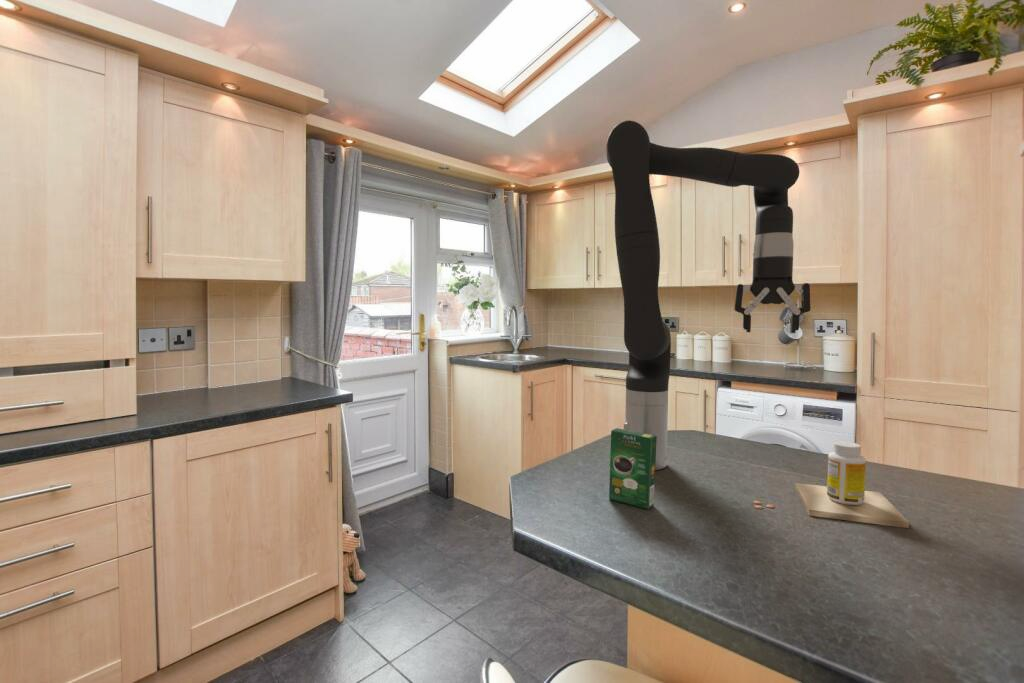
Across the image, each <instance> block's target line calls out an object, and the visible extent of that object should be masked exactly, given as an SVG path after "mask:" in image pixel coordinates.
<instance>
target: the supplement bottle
mask: <svg viewBox="0 0 1024 683" xmlns="http://www.w3.org/2000/svg"><path fill="white" fill-rule="evenodd" d="M861 448H862V446H861V445H860V444H858V443H856V442H851V441H845V440H844V441H841V440H839V441H835V442H834V443H833V451H831V452H829V453H828V456H827V481H826V484H827V485H826V486H827V496H828V497H829V498H830V499H831V500H833V501H835V502H838V503H841V504H846V505H860V504H862V503H863V502H864V495H865V491H866V490H865V488H866V470H867V469H866V466H867V465H866V464H867V463H866V462H867V461H866V458H865V457H864V456H863V455H861V453H862V449H861Z"/></svg>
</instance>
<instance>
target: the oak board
mask: <svg viewBox="0 0 1024 683" xmlns="http://www.w3.org/2000/svg"><path fill="white" fill-rule="evenodd" d="M794 490H795V491H796V494H797V496H798V497H799V499H800V501H801V503H802V504H803V507H804V509H805V511H806V513H807V514H808V516H810V517H818V518H827V519H835V520H844V521H849V522H855V523H856V522H857V523H865V524H873V525H874V524H875V525H881V526H889V527H897V528H904V529H905V528H906V529H909V528H910V521H909V520H908V519H907V518H906V517H905V516H904V515H903V514H902V513H901V512H900V511H899V510H898V509H897V508H896V507H895V506H894V505H893V504H892V503H891V502H890V501H889V500H888V499H887V498H886V497H885V496H884V495H883V494H882V493H881V492H880V491H871V490H865V495H864V502H863V503H862V504H860V505H846V504H841V503H838V502H835V501H833V500H831V499H830V498H829V497H828V496H827V485H825V486H824V485H819V484H818V485H816V484H806V483H798V482H794Z"/></svg>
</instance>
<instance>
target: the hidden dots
mask: <svg viewBox="0 0 1024 683" xmlns="http://www.w3.org/2000/svg"><path fill="white" fill-rule="evenodd" d="M752 503H754V504H755V505H753V507H754V508H755V509H759V510H762V509H764V507H763V506H762V505H761V504H762V501H759V500H753V501H752ZM765 507H766V508H769V509H774V508H776V506H775V505H773V504H765Z"/></svg>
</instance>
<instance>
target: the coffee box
mask: <svg viewBox="0 0 1024 683" xmlns="http://www.w3.org/2000/svg"><path fill="white" fill-rule="evenodd" d="M656 441H657V436H656V435H651V434H646V433H640V432H635V431H629V430H624V428H618V427H616V428H614V429H612V430H611V431H610V453H609V454H610V455H609V456H610V457H609V487H608V488H609V489H608V490H609V491H608V492H609V493H608V499H609V500H612V501H616V502H618V503H623V504H626V505H631V506H634V507H637V508H640V509H641V508H642V509H646V510H650V509H651V508H653V506H654V505H655V504H654V503H655V486H656V485H655V480H656V470H655V465H656Z"/></svg>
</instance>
